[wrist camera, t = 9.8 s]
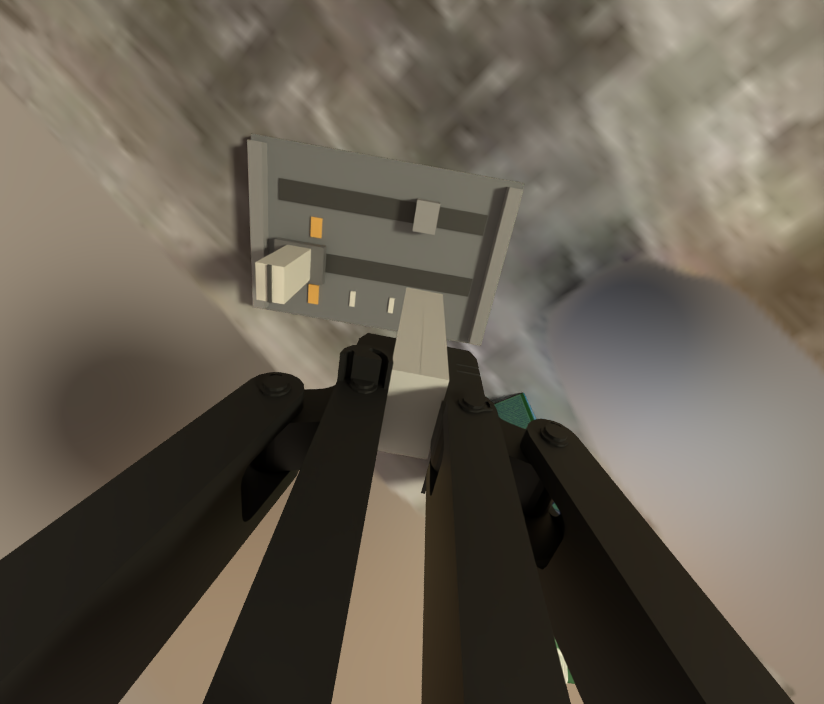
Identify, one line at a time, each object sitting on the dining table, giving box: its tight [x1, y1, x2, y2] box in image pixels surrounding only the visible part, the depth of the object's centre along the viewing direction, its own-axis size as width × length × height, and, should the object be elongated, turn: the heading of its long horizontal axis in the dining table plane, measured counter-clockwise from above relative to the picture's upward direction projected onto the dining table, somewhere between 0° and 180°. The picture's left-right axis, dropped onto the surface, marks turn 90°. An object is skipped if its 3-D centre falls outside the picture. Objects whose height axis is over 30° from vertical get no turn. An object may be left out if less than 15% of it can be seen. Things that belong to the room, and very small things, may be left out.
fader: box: [255, 237, 327, 304], centre depth 32 cm, size 4×5×8 cm
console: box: [247, 133, 524, 346], centre depth 36 cm, size 16×24×4 cm, turn 81°
